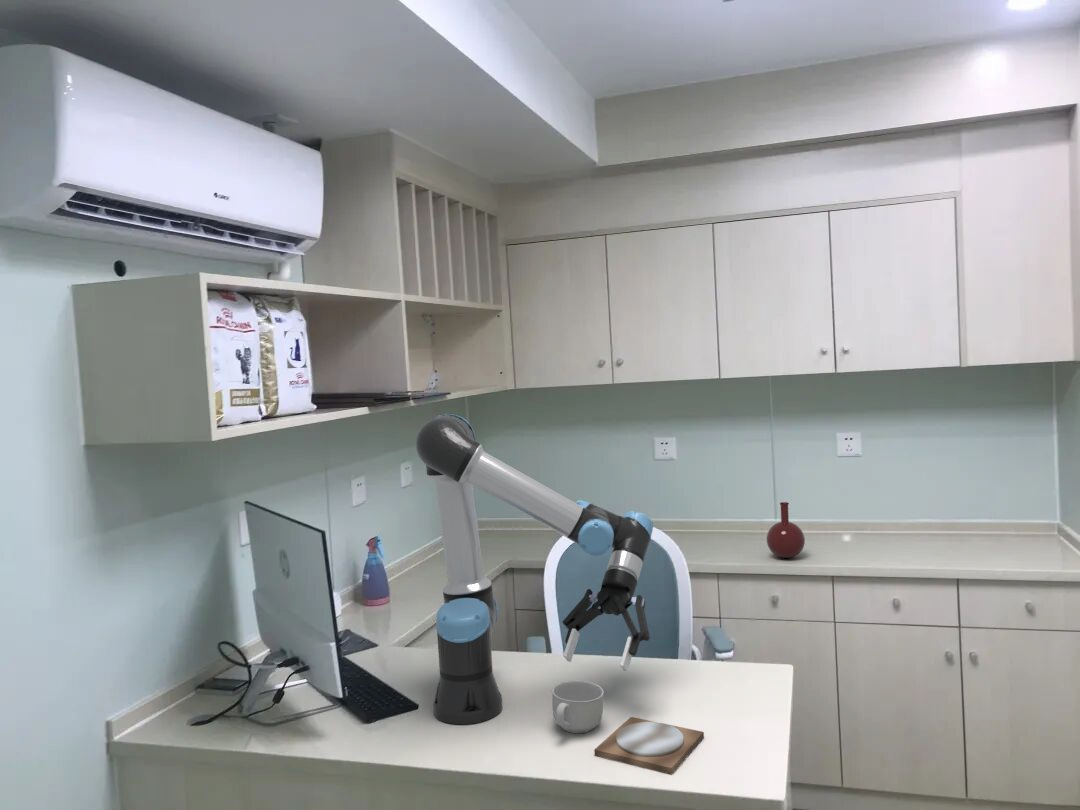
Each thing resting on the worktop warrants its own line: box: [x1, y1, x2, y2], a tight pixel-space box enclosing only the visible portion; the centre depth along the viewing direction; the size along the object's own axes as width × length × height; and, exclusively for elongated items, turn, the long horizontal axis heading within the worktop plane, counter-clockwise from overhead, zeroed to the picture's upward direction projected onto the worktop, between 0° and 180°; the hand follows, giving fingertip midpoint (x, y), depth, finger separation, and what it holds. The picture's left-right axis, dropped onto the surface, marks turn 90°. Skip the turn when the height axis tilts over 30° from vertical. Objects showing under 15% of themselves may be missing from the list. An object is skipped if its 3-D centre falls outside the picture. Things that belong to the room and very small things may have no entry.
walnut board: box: [593, 716, 705, 775], centre depth 162 cm, size 16×16×2 cm
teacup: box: [551, 679, 605, 734], centre depth 171 cm, size 14×11×8 cm
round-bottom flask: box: [766, 501, 806, 559], centre depth 298 cm, size 13×13×20 cm
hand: (594, 663), depth 177 cm, fingers open, 13 cm apart
